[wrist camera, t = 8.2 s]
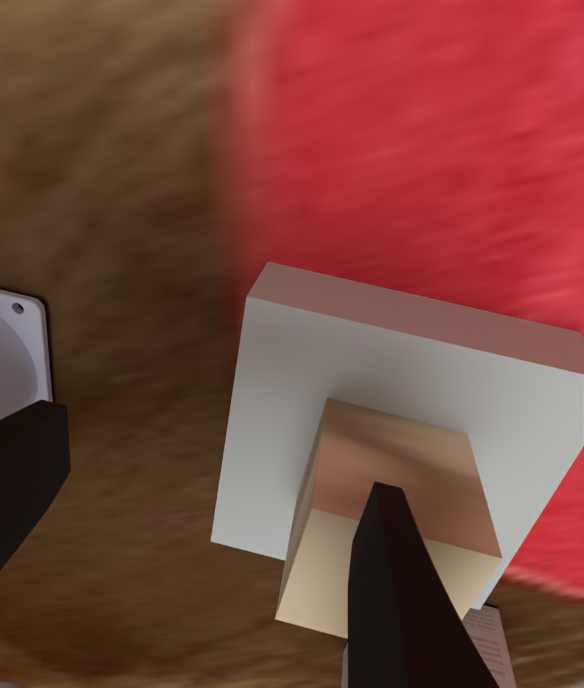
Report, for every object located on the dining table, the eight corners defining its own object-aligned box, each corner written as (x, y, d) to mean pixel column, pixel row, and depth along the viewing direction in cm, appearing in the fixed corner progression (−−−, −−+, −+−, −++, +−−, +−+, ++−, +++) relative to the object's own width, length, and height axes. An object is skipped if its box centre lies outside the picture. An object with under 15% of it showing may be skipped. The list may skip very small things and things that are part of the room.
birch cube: (296, 497, 19) (275, 619, 15) (326, 397, 17) (311, 508, 12) (419, 529, 19) (433, 661, 15) (467, 434, 17) (502, 558, 12)
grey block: (233, 477, 25) (210, 541, 21) (270, 257, 19) (246, 296, 15) (464, 534, 24) (479, 610, 21) (576, 326, 18) (622, 383, 15)
